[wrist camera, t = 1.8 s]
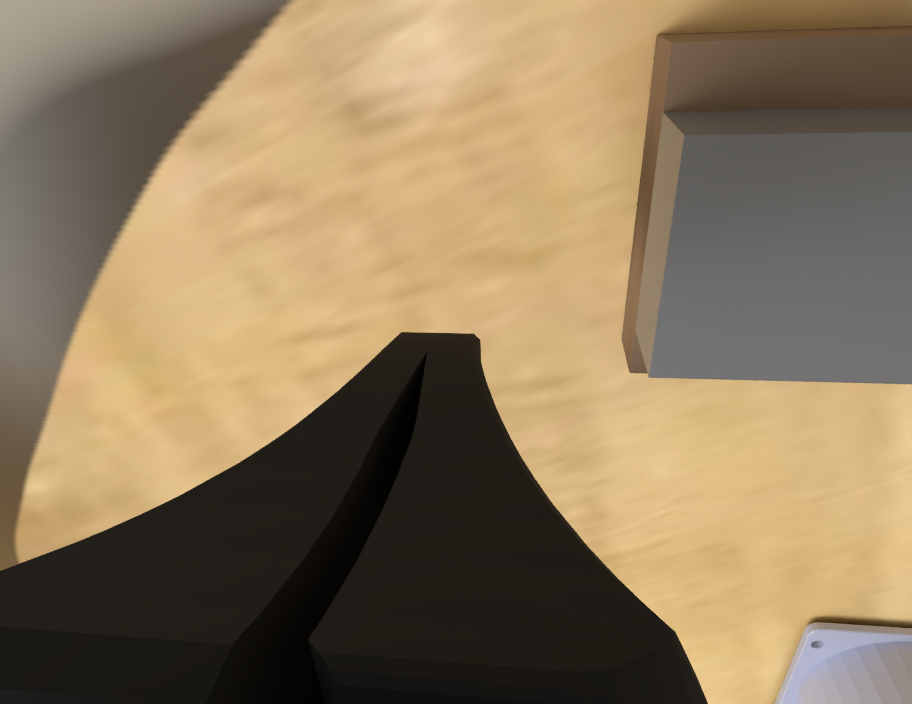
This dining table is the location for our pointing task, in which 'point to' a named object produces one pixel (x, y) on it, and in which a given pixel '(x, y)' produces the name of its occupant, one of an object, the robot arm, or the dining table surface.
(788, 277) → the slate tile
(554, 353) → the dining table surface
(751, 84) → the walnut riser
